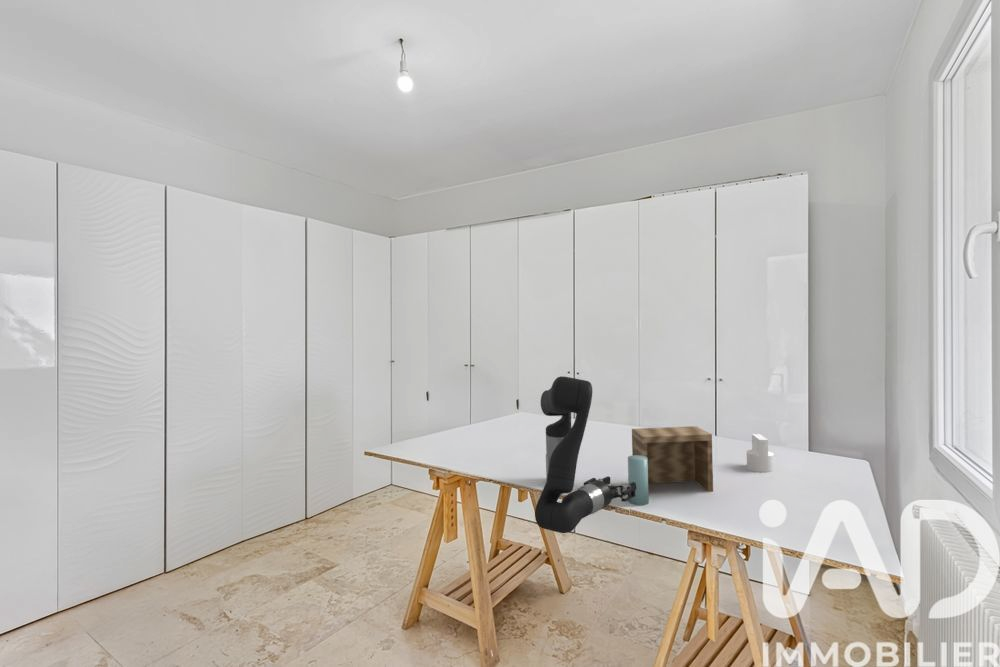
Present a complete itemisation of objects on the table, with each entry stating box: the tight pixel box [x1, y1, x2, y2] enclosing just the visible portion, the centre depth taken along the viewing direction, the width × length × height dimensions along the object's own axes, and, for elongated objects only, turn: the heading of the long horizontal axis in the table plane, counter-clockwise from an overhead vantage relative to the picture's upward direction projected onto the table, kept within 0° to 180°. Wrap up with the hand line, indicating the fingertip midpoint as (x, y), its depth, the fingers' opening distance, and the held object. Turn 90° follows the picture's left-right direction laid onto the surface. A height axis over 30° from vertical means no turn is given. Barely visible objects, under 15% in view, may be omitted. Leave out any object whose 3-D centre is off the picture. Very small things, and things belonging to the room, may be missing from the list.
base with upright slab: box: [746, 433, 775, 474], centre depth 181 cm, size 9×9×12 cm
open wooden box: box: [631, 425, 714, 493], centre depth 165 cm, size 23×12×19 cm, turn 91°
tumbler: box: [627, 455, 650, 506], centre depth 153 cm, size 6×6×14 cm
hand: (621, 482), depth 146 cm, fingers open, 8 cm apart
